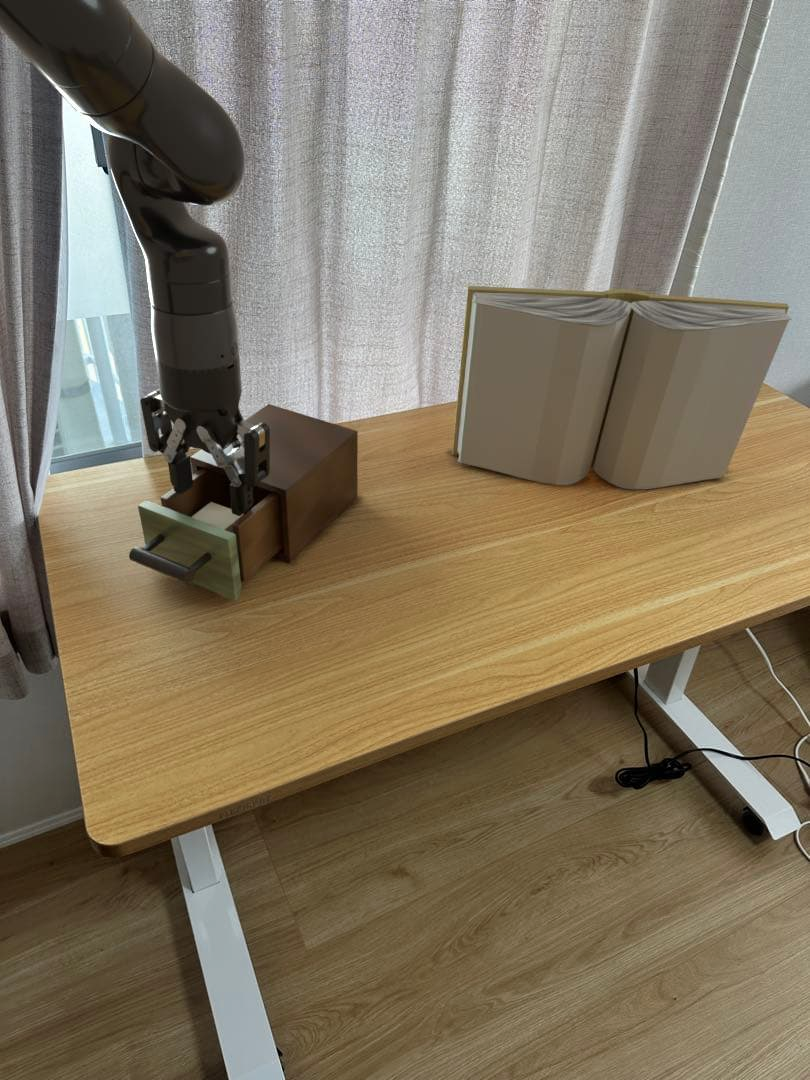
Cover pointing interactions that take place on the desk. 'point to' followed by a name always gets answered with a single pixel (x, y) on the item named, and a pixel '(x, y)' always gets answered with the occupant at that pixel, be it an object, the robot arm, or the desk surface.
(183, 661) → the desk surface
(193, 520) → the drawer
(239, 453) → the robot arm
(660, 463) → the book
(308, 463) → the cabinet
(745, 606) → the desk surface
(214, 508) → the block
